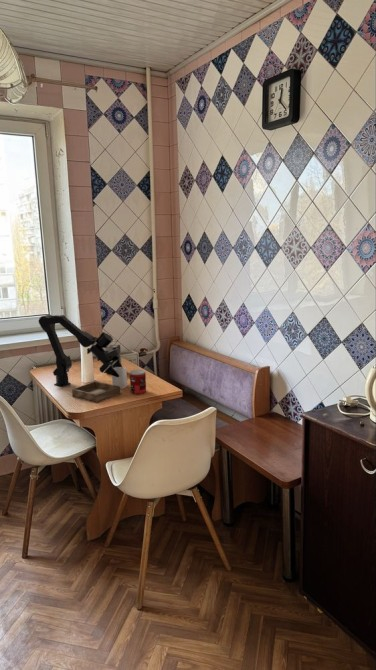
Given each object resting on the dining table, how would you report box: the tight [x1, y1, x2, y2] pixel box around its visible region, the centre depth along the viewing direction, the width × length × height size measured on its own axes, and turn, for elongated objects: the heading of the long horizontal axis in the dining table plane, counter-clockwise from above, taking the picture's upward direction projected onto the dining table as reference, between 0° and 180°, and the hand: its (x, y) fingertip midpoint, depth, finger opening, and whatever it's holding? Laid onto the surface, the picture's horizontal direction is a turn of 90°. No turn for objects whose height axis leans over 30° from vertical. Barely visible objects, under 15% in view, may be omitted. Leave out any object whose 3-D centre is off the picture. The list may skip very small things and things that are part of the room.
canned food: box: [129, 369, 147, 395], centre depth 243 cm, size 8×8×11 cm
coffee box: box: [104, 344, 122, 376], centre depth 279 cm, size 9×6×16 cm
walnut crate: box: [71, 380, 121, 404], centre depth 240 cm, size 18×16×4 cm
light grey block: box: [111, 366, 128, 390], centre depth 253 cm, size 6×6×10 cm
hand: (121, 374), depth 252 cm, fingers open, 9 cm apart
